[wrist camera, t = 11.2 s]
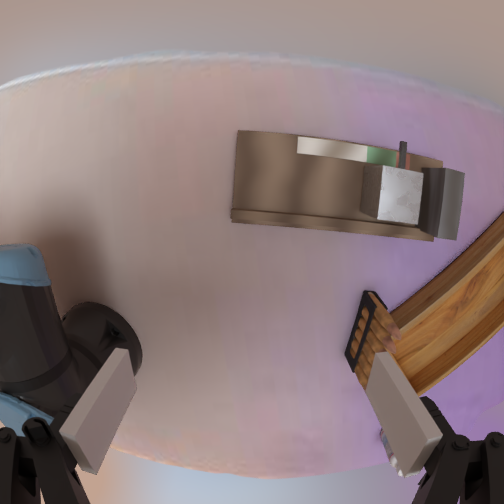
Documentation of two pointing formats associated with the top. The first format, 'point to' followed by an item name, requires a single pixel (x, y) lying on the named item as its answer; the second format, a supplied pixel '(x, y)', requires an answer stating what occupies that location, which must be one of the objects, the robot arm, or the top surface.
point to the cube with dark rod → (392, 191)
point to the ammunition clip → (370, 335)
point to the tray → (452, 313)
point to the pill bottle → (390, 453)
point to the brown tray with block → (334, 186)
